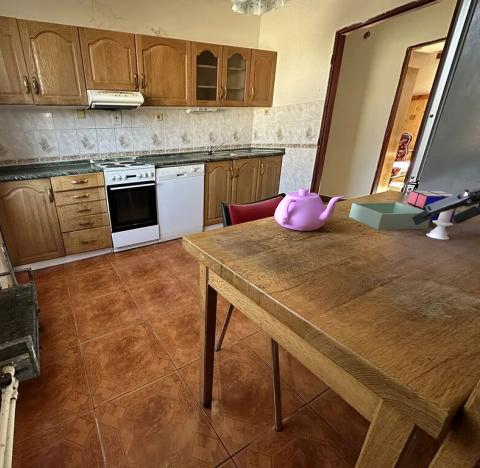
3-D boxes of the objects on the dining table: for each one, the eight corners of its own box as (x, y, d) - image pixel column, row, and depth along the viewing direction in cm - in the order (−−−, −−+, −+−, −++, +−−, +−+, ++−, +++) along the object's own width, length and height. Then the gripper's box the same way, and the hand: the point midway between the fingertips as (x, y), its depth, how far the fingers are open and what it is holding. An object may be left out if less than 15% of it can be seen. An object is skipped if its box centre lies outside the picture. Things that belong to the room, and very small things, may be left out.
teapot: (317, 243, 80) (326, 200, 75) (260, 225, 97) (264, 189, 92) (350, 228, 91) (360, 190, 86) (293, 215, 108) (299, 182, 103)
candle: (448, 241, 79) (463, 203, 75) (425, 236, 83) (438, 200, 79) (449, 236, 83) (464, 200, 78) (426, 232, 86) (439, 197, 82)
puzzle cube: (418, 222, 96) (427, 195, 92) (402, 214, 105) (410, 190, 101) (451, 223, 94) (462, 196, 90) (432, 215, 103) (441, 190, 99)
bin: (391, 215, 104) (395, 201, 102) (427, 228, 90) (432, 212, 87) (349, 217, 104) (352, 203, 102) (377, 229, 90) (382, 214, 88)
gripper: (556, 167, 65) (467, 209, 85) (458, 170, 65) (392, 211, 85) (575, 192, 62) (479, 230, 82) (473, 195, 62) (401, 231, 82)
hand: (435, 220), depth 83 cm, fingers open, 12 cm apart
